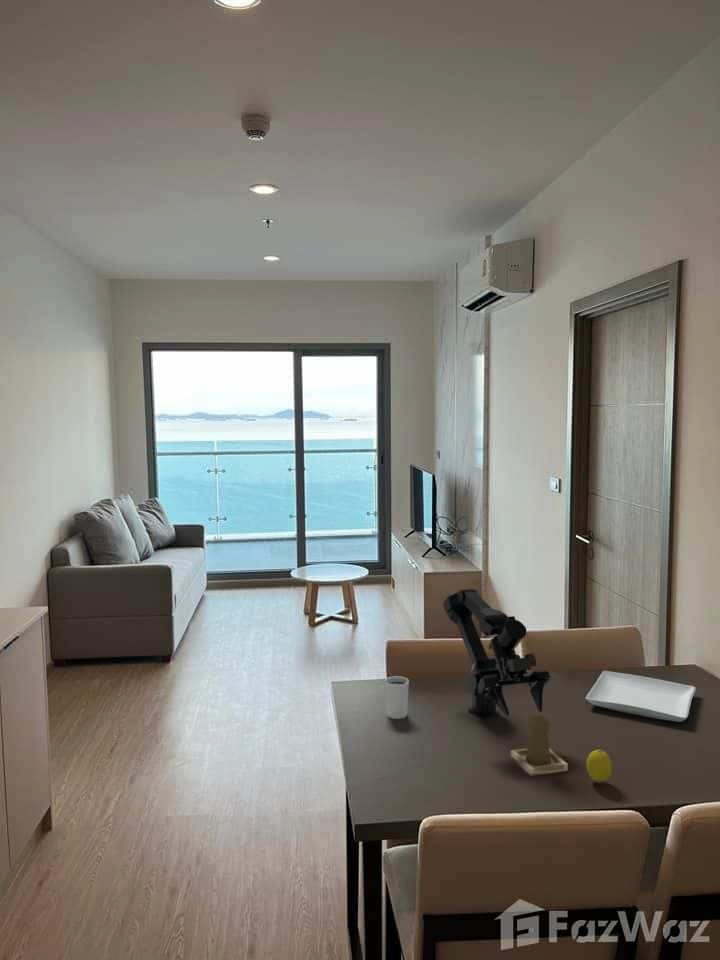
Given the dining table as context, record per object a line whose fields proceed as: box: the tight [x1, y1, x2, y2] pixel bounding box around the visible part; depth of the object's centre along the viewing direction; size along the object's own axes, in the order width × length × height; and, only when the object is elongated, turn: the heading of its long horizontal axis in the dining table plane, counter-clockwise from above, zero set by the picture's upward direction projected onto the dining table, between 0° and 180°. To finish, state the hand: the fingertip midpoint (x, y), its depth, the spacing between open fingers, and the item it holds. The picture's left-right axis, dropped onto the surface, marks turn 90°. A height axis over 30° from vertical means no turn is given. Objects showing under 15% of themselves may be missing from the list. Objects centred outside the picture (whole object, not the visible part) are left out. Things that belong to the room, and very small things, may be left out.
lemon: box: [585, 748, 613, 784], centre depth 167 cm, size 6×6×8 cm
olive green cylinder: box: [526, 715, 551, 766], centre depth 176 cm, size 6×6×11 cm
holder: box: [510, 747, 569, 777], centre depth 176 cm, size 10×10×2 cm
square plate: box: [585, 670, 697, 723], centre depth 214 cm, size 27×27×4 cm
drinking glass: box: [384, 675, 410, 720], centre depth 205 cm, size 7×7×10 cm
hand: (524, 713), depth 183 cm, fingers open, 9 cm apart
